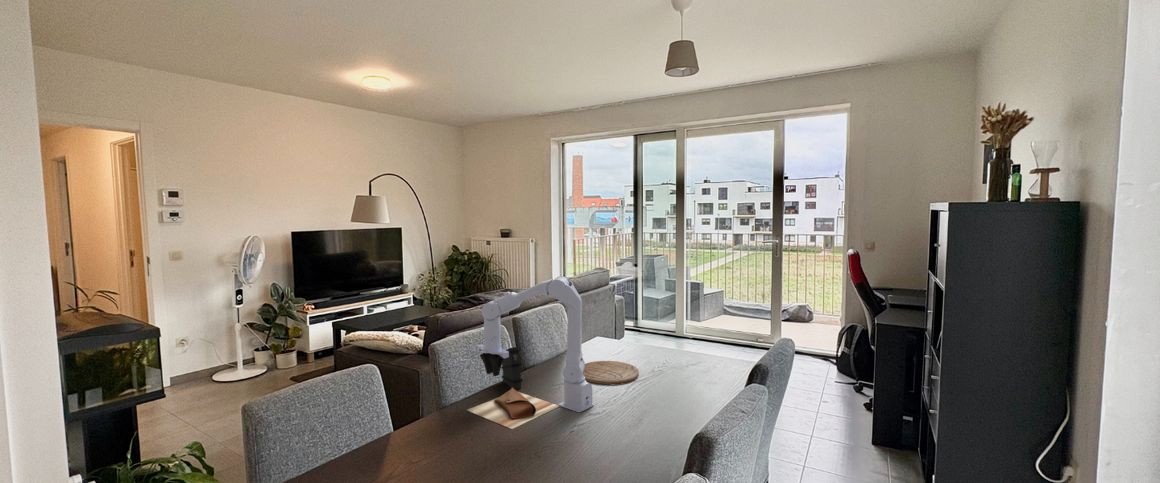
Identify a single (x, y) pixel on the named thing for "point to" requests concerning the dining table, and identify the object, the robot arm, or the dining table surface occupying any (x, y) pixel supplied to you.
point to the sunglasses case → (516, 404)
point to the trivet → (609, 372)
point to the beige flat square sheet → (501, 417)
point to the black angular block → (512, 369)
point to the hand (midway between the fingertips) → (492, 374)
